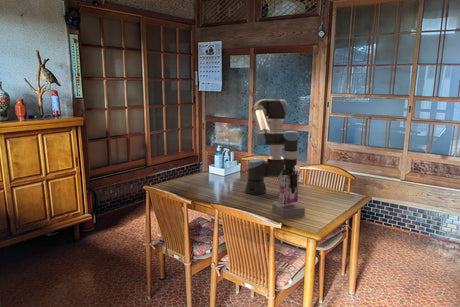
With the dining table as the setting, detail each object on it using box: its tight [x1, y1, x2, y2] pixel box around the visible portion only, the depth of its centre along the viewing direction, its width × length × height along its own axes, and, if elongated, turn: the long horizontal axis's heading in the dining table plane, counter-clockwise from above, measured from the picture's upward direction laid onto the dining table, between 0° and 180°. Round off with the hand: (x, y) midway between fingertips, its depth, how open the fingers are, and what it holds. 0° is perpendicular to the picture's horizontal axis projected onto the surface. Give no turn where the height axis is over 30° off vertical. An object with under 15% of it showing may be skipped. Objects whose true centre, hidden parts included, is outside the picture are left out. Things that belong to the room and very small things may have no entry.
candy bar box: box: [278, 174, 300, 205], centre depth 204 cm, size 11×5×16 cm, turn 128°
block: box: [271, 201, 306, 219], centre depth 206 cm, size 14×14×5 cm
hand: (288, 196), depth 205 cm, fingers closed on candy bar box, 6 cm apart
